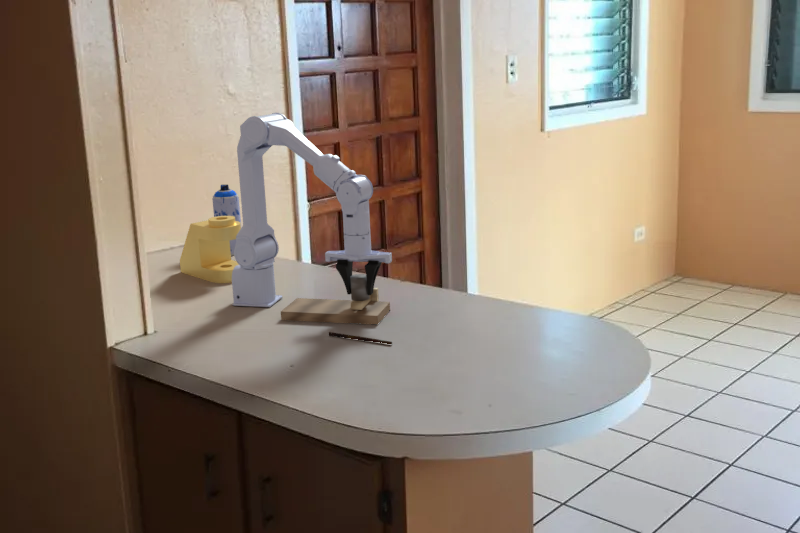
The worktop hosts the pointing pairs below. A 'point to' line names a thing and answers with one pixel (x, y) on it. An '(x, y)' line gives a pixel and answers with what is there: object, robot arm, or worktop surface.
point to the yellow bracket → (210, 249)
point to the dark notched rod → (358, 337)
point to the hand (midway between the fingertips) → (360, 293)
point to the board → (334, 311)
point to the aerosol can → (227, 207)
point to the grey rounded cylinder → (361, 292)
